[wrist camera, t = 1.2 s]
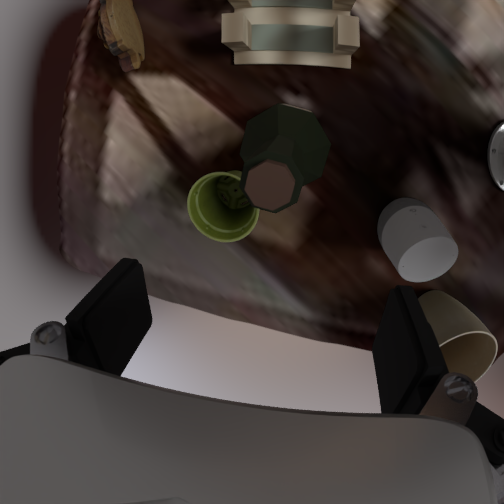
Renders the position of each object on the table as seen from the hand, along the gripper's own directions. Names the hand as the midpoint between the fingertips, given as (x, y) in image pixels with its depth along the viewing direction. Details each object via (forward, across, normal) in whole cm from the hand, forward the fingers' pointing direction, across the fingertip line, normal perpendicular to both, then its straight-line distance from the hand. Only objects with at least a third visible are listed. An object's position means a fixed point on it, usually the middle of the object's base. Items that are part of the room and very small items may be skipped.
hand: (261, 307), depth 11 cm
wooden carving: (+36, +25, -20) cm, 48 cm away
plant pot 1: (+36, +8, +6) cm, 38 cm away
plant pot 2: (+36, -28, +25) cm, 52 cm away
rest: (+36, +1, -23) cm, 42 cm away
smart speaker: (+36, -18, +9) cm, 41 cm away
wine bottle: (+36, +1, -3) cm, 36 cm away
